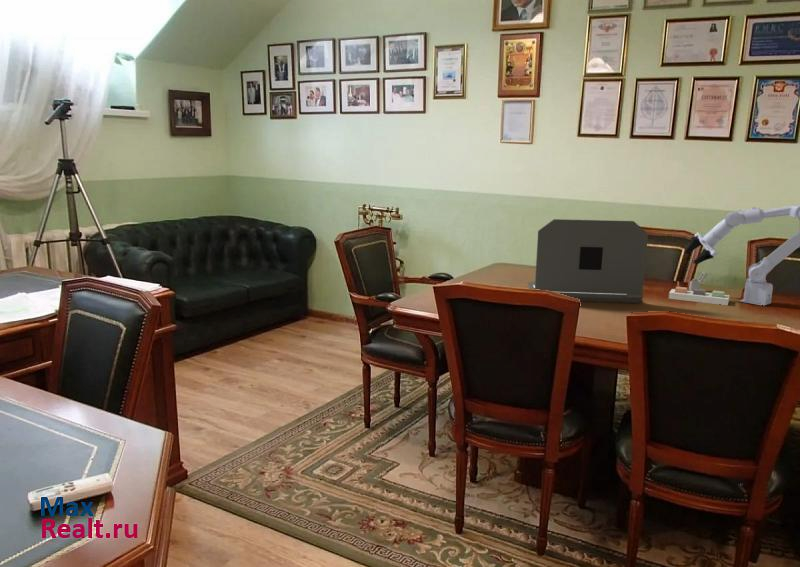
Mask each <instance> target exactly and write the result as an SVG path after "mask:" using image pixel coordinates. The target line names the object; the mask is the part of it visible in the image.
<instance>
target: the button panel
mask: <svg viewBox="0 0 800 567" xmlns="http://www.w3.org/2000/svg"><path fill="white" fill-rule="evenodd" d="M668 299H670V300H676V301H677V300H679V301H687V302H697V303H703V304H713V305H719V304H721V306H728V304H729V301H730V294H724V298H721V297H712V292H705V296H703V295H694V294H693V291H689V290H687V294H685V293H676V292H675V288H671V290H670V291H669V293H668Z"/></svg>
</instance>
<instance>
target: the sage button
mask: <svg viewBox="0 0 800 567" xmlns="http://www.w3.org/2000/svg"><path fill="white" fill-rule="evenodd" d="M711 293H712V297H721V298H724V295H725V291H720V290H712V291H711Z"/></svg>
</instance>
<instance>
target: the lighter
mask: <svg viewBox="0 0 800 567" xmlns="http://www.w3.org/2000/svg"><path fill="white" fill-rule="evenodd" d="M699 276H700V277H699V278H692V280H690V281H689V283H688V284H689V286H688V291H694V289H701V287H700V286H701V283H703V282H704V281H705V279H706V278H707V276H708V273H706V272H701V274H700V275H699Z"/></svg>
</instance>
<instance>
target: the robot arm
mask: <svg viewBox="0 0 800 567" xmlns="http://www.w3.org/2000/svg"><path fill="white" fill-rule="evenodd" d="M785 216H786V217H787V216H788V217H791V218H794V219H796V218H798V222H799V224H798V226H799V227H800V204H796V205H795V204H793V205H788V206H782V207H777V208H775V207H774V208H771V209H770V208H769V209H765V210H763V209H761V208H760V207H755V206H753V207H751V208H749V209H744V210H742V209H738V211H731V212H728V213H727V214H726V216H725V217H724V219H722V220H720V221H719V222H718V223H717V224H716V225H715V226H714V227H713V228H711V229H710V230H709V231H708V232H707V233H706V234H705V235H704V236H703V235H702V234H701V233H700V232H699V231H697V232H696V233H695V234H694V236H691V238H690V241H689V244H688V245H687V247H686V249H685V250H684V251H683V252H684V253H685V254H687V255H689V254H691V253H692V252H693V251H694V250H696V249H697V248H699V247H700V246H704V248H703V249H702V251H701V252H700V254H699V255H698V256H697V257H696V258H694V260H692V262H693V264H694V265H699V264H701V263H702V262H705V261H707V260H711V259H714V258H715V257H716V256H717V255H718V252H717V251H716V249H715V248H714V247H715V246H716V245H718V243H719V242H721V241H722V240H723V239H724V238H725V237H727V235H729V234H730V233H731V232H732V230H733V229H734V228H735V227H739V226H740V225H749V224H755V223H761V222H763V220H764V219H768V218H770V219H771V218H776V217H785ZM798 248H800V228H799V229H798V231H797V232H796V233H795V232H794V234H793V235H792V236H791V237H789V238H788V239H787V240H786V241H784V242H783V243H782V244H780V245H779V246H778V247H777V248H776V249H774V250H773V251H771V253H770V254H768V255H767V256H766V257H765V258H763V259H761V260H759V262H757V263H756V262H755V263H753V264H750V266H749V267H748V270H747V271H748V277H747V278H746V280H745V285H744V286H745V287H744V294H743V299H740V300H739V302H741V303H745V304H747V303H748V304H751V305H752V304H753V305H758V306H762V305H763V306H766V305H770V304H772V297H773V296H772V295H773V290H774V286H773V284H772V283H769V282H767V279H766V278H767V275H768V274H769V273H770V272H771V271H772V270H773V269H774V268H775V267H776V266H777V265H778V264H779V263H781V262H782V261H783V260H785V259H786V258H787V257H789V256H790V255H791V254H792V253H793V252H794V251H796V250H797V249H798ZM763 306H762V307H763Z"/></svg>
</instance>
